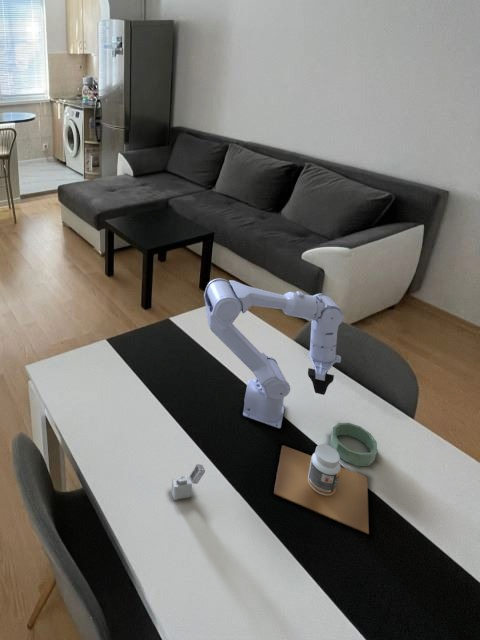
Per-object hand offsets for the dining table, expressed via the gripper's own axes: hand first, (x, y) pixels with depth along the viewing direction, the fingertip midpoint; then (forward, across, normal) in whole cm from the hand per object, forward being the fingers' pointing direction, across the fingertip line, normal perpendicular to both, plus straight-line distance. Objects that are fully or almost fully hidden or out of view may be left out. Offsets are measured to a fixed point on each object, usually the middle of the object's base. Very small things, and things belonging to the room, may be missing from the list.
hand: (320, 382), depth 112 cm
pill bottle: (+10, -22, -2) cm, 25 cm away
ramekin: (+11, -8, -8) cm, 16 cm away
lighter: (+7, -39, +24) cm, 46 cm away
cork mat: (+10, -22, -2) cm, 25 cm away
